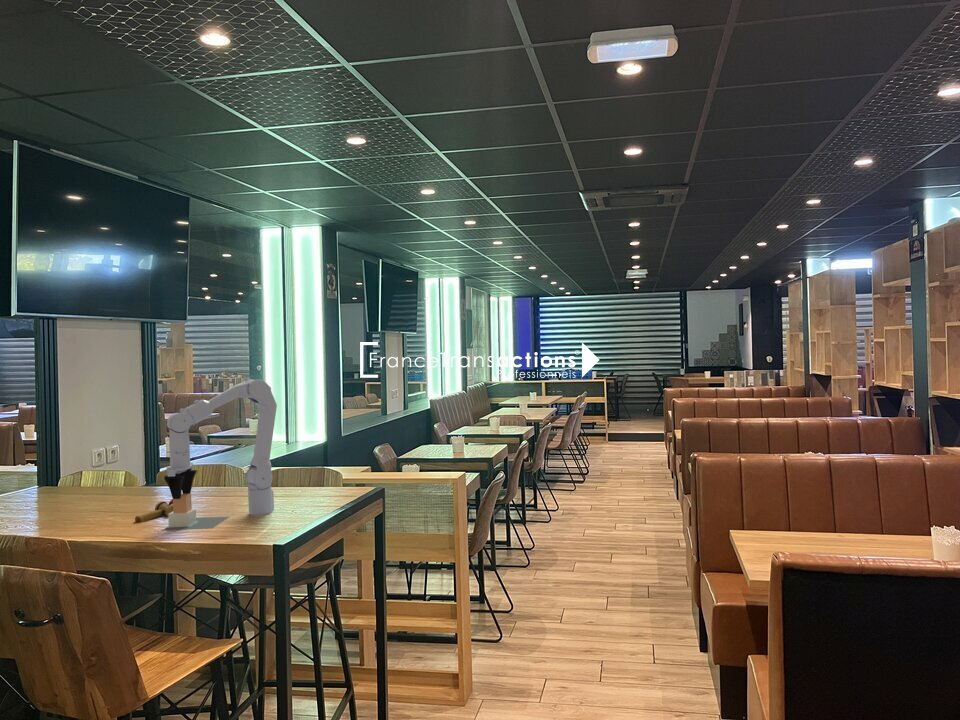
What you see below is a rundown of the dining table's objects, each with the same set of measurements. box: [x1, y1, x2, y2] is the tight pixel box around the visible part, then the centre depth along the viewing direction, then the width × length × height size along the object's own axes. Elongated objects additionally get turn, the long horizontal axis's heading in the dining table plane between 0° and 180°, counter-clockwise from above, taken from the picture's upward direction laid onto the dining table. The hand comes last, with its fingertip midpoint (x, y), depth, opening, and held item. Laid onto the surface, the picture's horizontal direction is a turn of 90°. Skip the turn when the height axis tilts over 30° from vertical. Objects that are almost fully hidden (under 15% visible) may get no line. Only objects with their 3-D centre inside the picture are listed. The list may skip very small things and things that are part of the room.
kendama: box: [134, 498, 173, 523], centre depth 236 cm, size 8×6×18 cm
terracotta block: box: [172, 493, 193, 513], centre depth 222 cm, size 4×4×5 cm
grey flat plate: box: [161, 516, 230, 531], centre depth 223 cm, size 16×15×1 cm
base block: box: [167, 508, 197, 527], centre depth 222 cm, size 6×6×4 cm
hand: (181, 496), depth 222 cm, fingers open, 7 cm apart
